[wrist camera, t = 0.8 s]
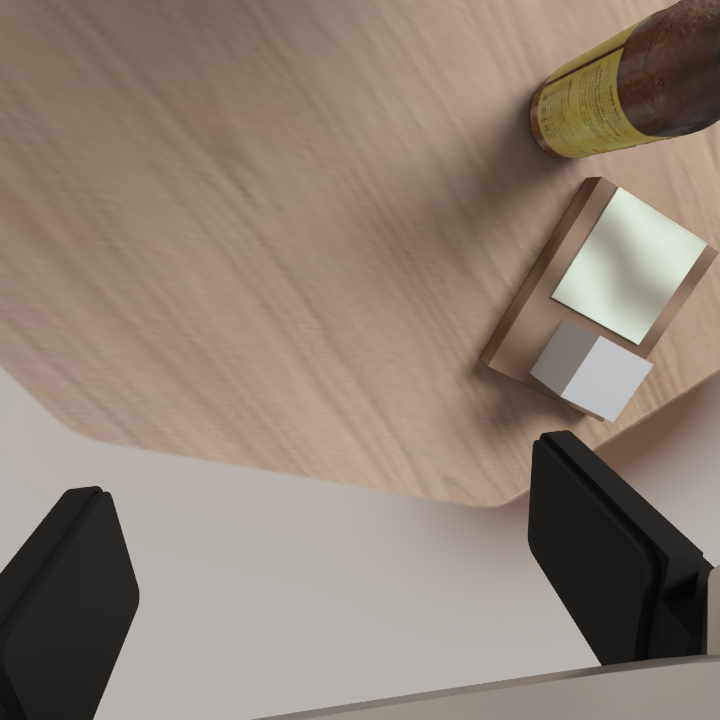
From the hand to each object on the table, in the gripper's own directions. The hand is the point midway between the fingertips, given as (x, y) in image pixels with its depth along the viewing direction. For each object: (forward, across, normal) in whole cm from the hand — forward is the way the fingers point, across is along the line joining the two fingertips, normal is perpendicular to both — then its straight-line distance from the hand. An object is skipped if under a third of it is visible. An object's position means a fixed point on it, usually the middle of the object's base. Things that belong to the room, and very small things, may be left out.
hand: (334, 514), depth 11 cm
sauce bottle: (+29, -20, -11) cm, 36 cm away
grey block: (+26, -20, +8) cm, 34 cm away
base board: (+28, -22, +4) cm, 36 cm away
